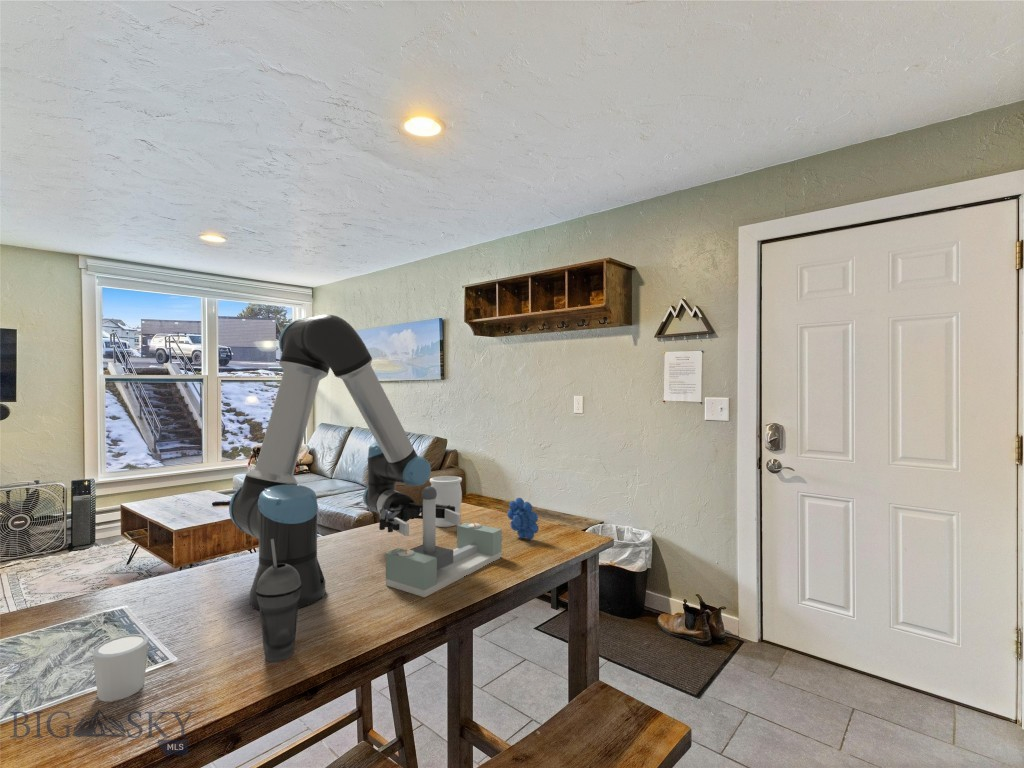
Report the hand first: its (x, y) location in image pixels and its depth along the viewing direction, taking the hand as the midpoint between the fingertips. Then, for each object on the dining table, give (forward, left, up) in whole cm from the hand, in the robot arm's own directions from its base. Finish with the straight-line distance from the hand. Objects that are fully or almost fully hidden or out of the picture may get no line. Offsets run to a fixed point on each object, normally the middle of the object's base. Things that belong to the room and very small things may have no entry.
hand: (434, 525), depth 119 cm
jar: (+39, +29, -14) cm, 51 cm away
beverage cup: (-38, +1, -14) cm, 41 cm away
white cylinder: (-57, +12, -14) cm, 60 cm away
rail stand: (+8, +2, -14) cm, 16 cm away
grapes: (+39, 0, -14) cm, 41 cm away
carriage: (+1, +2, -10) cm, 10 cm away
